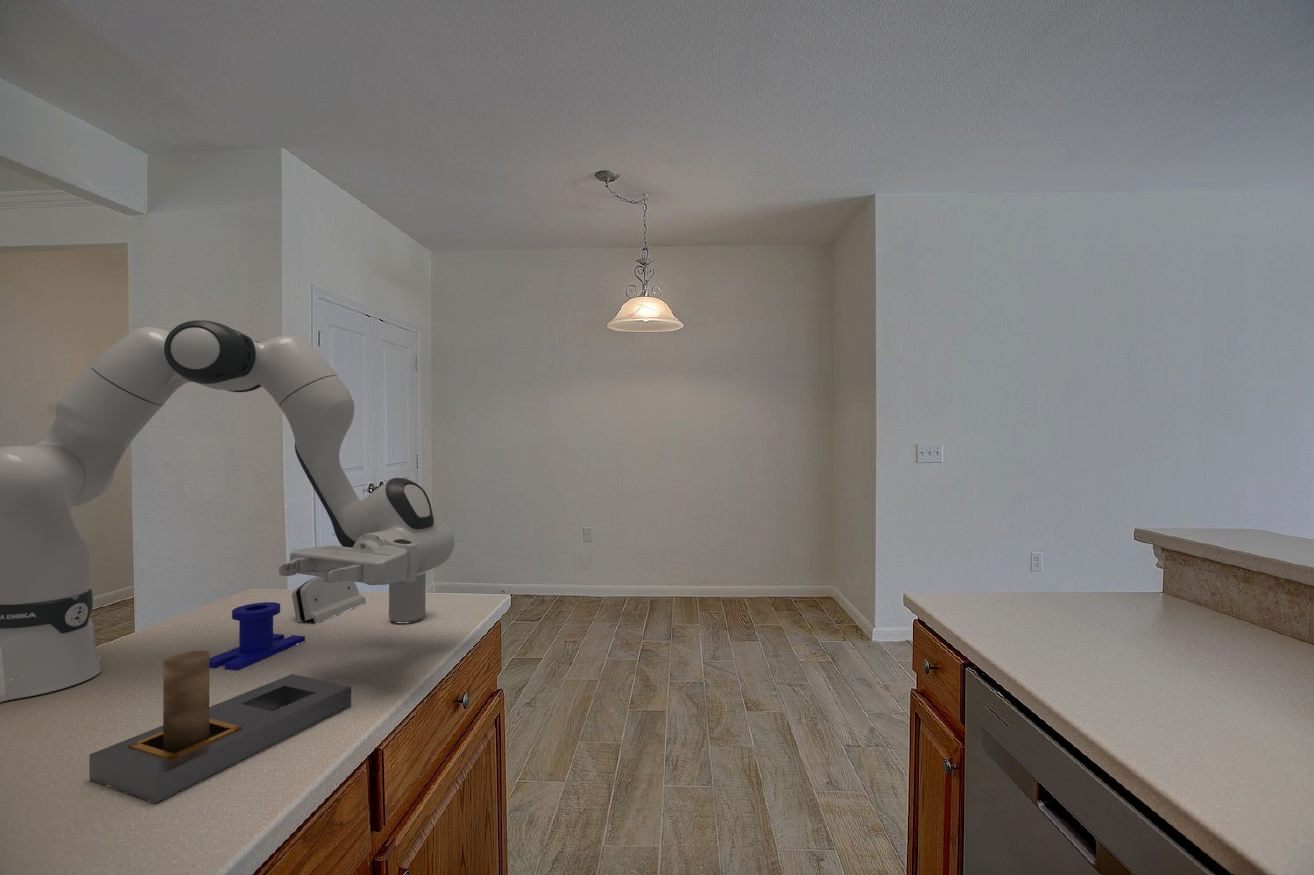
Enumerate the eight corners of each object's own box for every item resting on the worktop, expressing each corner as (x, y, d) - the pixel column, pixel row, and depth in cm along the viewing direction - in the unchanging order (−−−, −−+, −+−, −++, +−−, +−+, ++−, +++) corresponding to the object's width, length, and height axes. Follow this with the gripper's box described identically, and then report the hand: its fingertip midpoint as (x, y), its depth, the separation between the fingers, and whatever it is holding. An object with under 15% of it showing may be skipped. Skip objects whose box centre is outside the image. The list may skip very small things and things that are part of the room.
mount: (272, 639, 119) (272, 596, 119) (304, 642, 117) (305, 598, 117) (201, 668, 104) (201, 618, 104) (237, 671, 102) (238, 621, 102)
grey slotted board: (89, 779, 70) (89, 752, 70) (292, 693, 93) (292, 672, 93) (155, 803, 65) (155, 774, 65) (350, 706, 89) (351, 685, 89)
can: (405, 626, 126) (406, 570, 126) (381, 622, 130) (381, 567, 130) (432, 617, 133) (433, 564, 133) (408, 613, 136) (408, 561, 136)
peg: (153, 771, 72) (153, 663, 72) (183, 751, 76) (183, 650, 76) (190, 771, 71) (190, 664, 71) (218, 751, 76) (218, 650, 76)
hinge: (316, 624, 128) (302, 580, 128) (298, 630, 129) (284, 586, 129) (367, 603, 144) (355, 564, 145) (351, 608, 145) (339, 569, 146)
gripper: (334, 534, 106) (257, 546, 93) (424, 544, 98) (354, 558, 85) (333, 569, 106) (256, 587, 93) (423, 582, 98) (353, 602, 85)
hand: (304, 573), depth 89 cm, fingers open, 8 cm apart
